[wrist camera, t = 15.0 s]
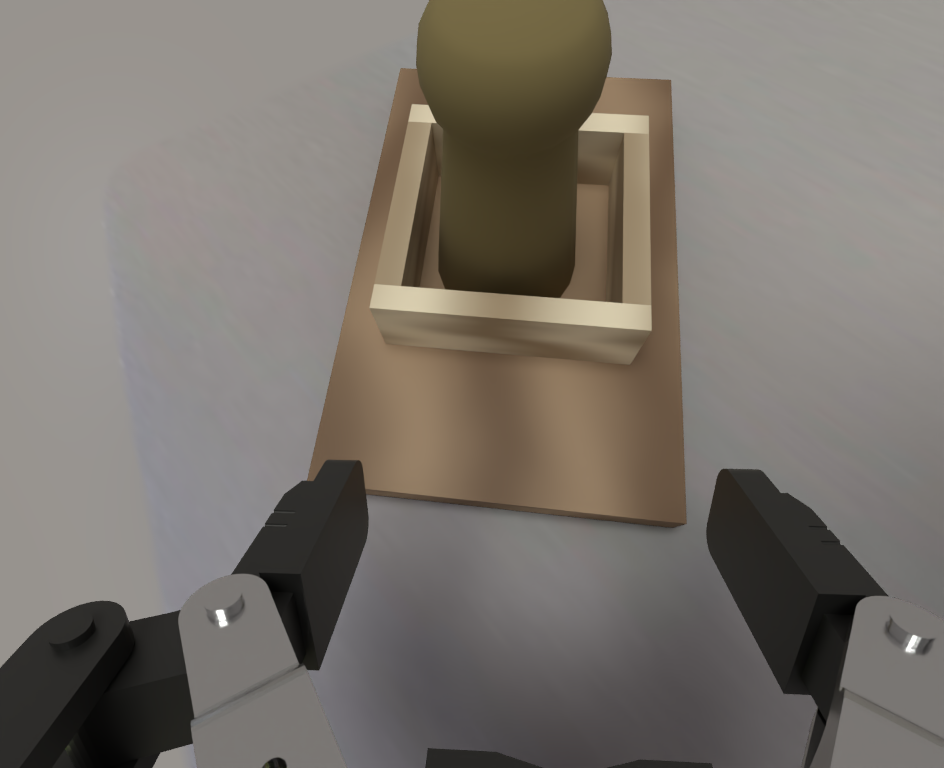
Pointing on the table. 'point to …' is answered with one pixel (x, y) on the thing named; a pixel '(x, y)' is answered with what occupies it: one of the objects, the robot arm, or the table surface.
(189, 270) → the table surface
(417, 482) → the collar board
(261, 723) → the robot arm
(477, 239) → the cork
